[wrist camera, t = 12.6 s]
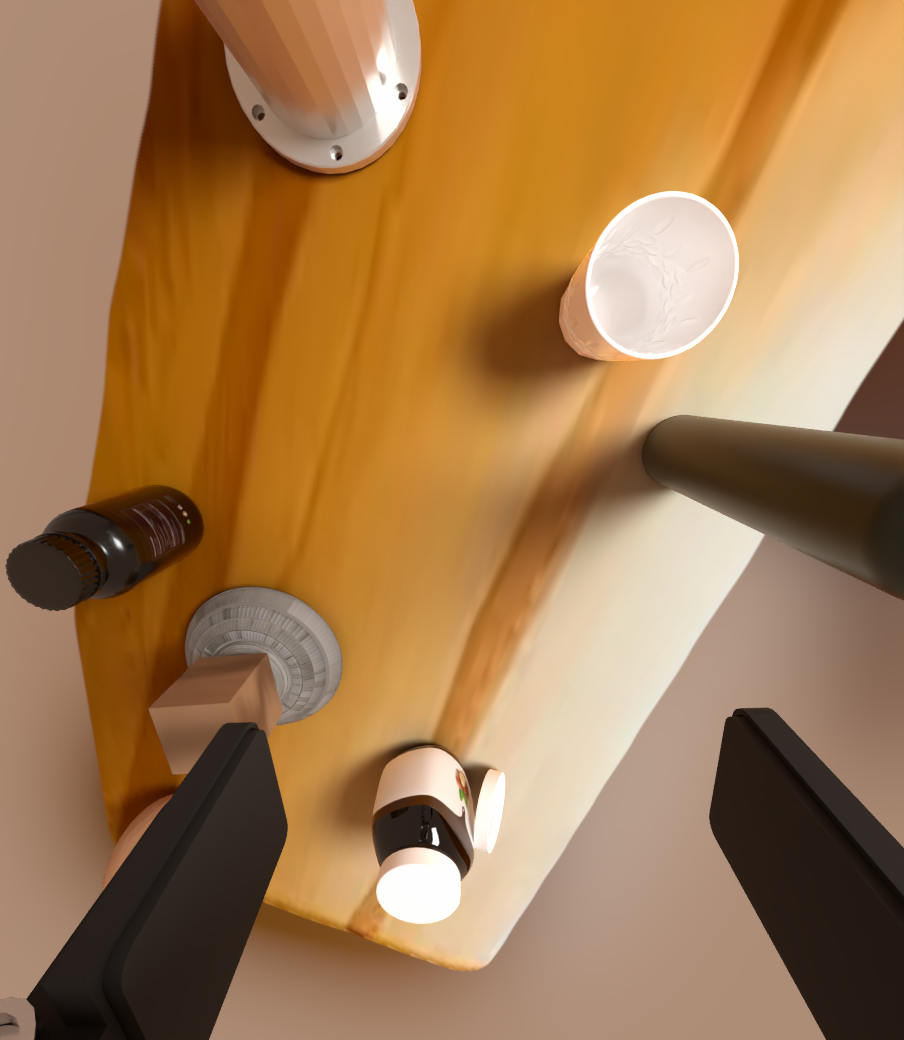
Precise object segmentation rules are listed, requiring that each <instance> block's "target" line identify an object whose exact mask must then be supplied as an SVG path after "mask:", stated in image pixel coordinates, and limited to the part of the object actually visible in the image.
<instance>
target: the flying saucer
mask: <svg viewBox="0 0 904 1040" xmlns="http://www.w3.org/2000/svg"><path fill="white" fill-rule="evenodd" d="M258 653H267V654H268V657H269V661H270V665H271V669H272V672H273V676H274V680H275V683H276V687H277V691H278V695H279V698H280V702H281V706H282V710H283V713H282V715H281V716H280V718H279V720H278V722H277V723H276V725H283V724H289V723H293V722H296V721H299V720H302V719H305V718H307V717H309V716H311V715H312V714H314V713H316V712H317V711H319V710H320V709H322V708H323V707H324V706H325V705H326V704H327V703H328V702H329V701H330V700H331V698H332V697H333V695H334V694H335V692H336V690H337V688H338V686H339V683H340V680H341V675H342V656H341V651H340V647H339V644H338V642H337V639H336V637H335V635H334V633H333V632H332V630H331V628H330V627H329V626H328V624H327V623H326V622H325V620H324V619H323V618H322V617H321V616H320V615H319V614H318V613H317V612H316V611H315V610H313V609H312V608H311V607H310V606H308V605H307V604H305V603H304V602H302V601H301V600H299V599H297V598H295V597H293V596H291V595H289V594H286V593H283V592H280V591H277V590H273V589H268V588H261V587H243V588H236V589H232V590H228V591H225V592H223V593H220V594H218V595H216V596H214V597H213V598H211V599H209V600H208V601H207V602H205V603H204V604H203V605H202V606H201V607H200V608H199V609H198V611H197V612H196V613H195V615H194V616H193V618H192V620H191V622H190V624H189V627H188V630H187V634H186V640H185V656H186V662H187V666H188V668H189V667H190V666H191V665H192V664H193V663H194V662H195V661H196V660H197V659H198V658H206V657H219V656H232V655H245V654H258Z"/></svg>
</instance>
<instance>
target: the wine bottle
mask: <svg viewBox="0 0 904 1040" xmlns="http://www.w3.org/2000/svg"><path fill="white" fill-rule="evenodd" d="M642 457H643V464H644V467H645V469H646V471H647V473H648V474H649V476H650V477H651V478H652V479H653V480H655V481H656V482H658V483H660V484H662V485H664V486H666V487H668V488H670V489H672V490H674V491H676V492H678V493H680V494H683V495H685V496H687V497H689V498H691V499H693V500H695V501H697V502H699V503H701V504H703V505H705V506H707V507H709V508H711V509H714V510H716V511H718V512H720V513H722V514H724V515H726V516H728V517H730V518H732V519H734V520H736V521H738V522H740V523H743V524H745V525H747V526H749V527H751V528H753V529H755V530H757V531H759V532H761V533H763V534H765V535H767V536H769V537H771V538H774V539H776V540H778V541H780V542H782V543H784V544H786V545H788V546H790V547H792V548H794V549H796V550H798V551H800V552H802V553H805V554H807V555H809V556H811V557H813V558H815V559H817V560H819V561H821V562H823V563H825V564H827V565H829V566H831V567H834V568H836V569H838V570H840V571H842V572H844V573H846V574H848V575H850V576H852V577H854V578H856V579H858V580H860V581H863V582H865V583H867V584H869V585H871V586H873V587H875V588H877V589H879V590H881V591H884V592H885V593H888V594H890V595H892V596H894V597H896V598H899V599H902V600H904V440H901V439H893V438H884V437H875V436H866V435H857V434H848V433H840V432H831V431H822V430H813V429H804V428H796V427H787V426H778V425H769V424H760V423H751V422H743V421H734V420H725V419H716V418H707V417H698V416H690V415H679V416H674V417H671V418H669V419H666V420H665V421H663V422H661V423H660V424H659V425H657V426H656V427H655V428H654V429H653V430H652V431H651V433H650V434H649V436H648V437H647V439H646V441H645V444H644V447H643V455H642Z"/></svg>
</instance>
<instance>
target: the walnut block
mask: <svg viewBox="0 0 904 1040" xmlns="http://www.w3.org/2000/svg"><path fill="white" fill-rule="evenodd" d="M148 710H149V712H150V715H151V718H152V720H153V723H154V726H155V728H156V731H157V734H158V736H159V739H160V742H161V744H162V747H163V749H164V752H165V755H166V757H167V760H168V763H169V765H170V768H171V771H172V773H173V774H188V773H189V772H190V770H191V769H192V767H193V766H194V764H195V763H196V762H197V760H198V759H199V757H200V756H201V754H202V753H203V752H204V750H205V749H206V747H207V746H208V745H209V743H210V742H211V740H212V739H213V737H214V736H215V735H216V733H217V732H218V730H219V729H220V728H221V727H222V726H223V725H224V724H226V723H240V722H255V723H256V724H257V725H258V728H259V730H264V731H265V733H266V736H267V739H268V737H269V736H270V734H271V732H272V730H273V729H274V727H275V725H276V723H277V722H278V720H279V718H280V716H281V715H282V713H283V710H282V706H281V702H280V698H279V695H278V691H277V687H276V683H275V680H274V676H273V672H272V669H271V665H270V661H269V657H268V654H267V653H258V654H245V655H232V656H219V657H206V658H198V659H197V660H196V661H195V662H194V663H193V664H192V665H191V666H190V667H189V668H188V669H187V670H186V671H185V672H184V673H183V674H182V675H181V676H180V677H179V678H178V679H177V680H176V681H175V682H174V683H173V684H172V685H171V686H170V687H169V688H168V689H167V690H166V691H165V692H164V693H163V694H162V695H161V696H160V697H159V698H158V699H157V700H156V701H155V702H154V703H153V704H152V705H151V706H150V707H149V708H148Z"/></svg>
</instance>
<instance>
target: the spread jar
mask: <svg viewBox="0 0 904 1040" xmlns="http://www.w3.org/2000/svg"><path fill="white" fill-rule="evenodd" d="M504 794H505V775H504V773H503V772H500V771H496V770H493V769H489V770H488V772H487V774H486V776H485V778H484V781H483V784H482V787H481V791H480V795H479V799H478V804H477V810H476V816H475V823H474V810H473V801H472V794H471V789H470V786H469V782H468V779H467V776H466V773H465V770H464V768H463V766H462V764H461V762H460V761H459V759H458V758H457V757H456V756H455V755H454V754H453V753H452V752H450V751H449V750H447V749H445V748H443V747H440V746H436V745H423V746H418V747H414V748H411V749H409V750H406V751H404V752H403V753H401V754H399V755H398V756H396V757H395V758H393V759H392V760H391V761H390V762H389V763H388V764H387V765H386V766H385V768H384V770H383V772H382V775H381V778H380V782H379V786H378V790H377V795H376V799H375V804H374V809H373V816H372V837H373V844H374V849H375V853H376V857H377V860H378V863H379V866H380V871H379V876H378V882H377V887H376V896H377V899H378V902H379V903H380V905H381V906H382V908H383V909H384V910H385V911H386V912H387V913H389V914H390V915H392V916H393V917H395V918H397V919H399V920H402V921H405V922H409V923H416V924H426V923H433V922H437V921H440V920H442V919H445V918H446V917H448V916H449V915H451V914H452V913H453V912H454V911H455V909H456V908H457V906H458V905H459V901H460V882H461V881H462V880H463V879H464V878H465V877H466V875H467V874H468V873H469V871H470V869H471V867H472V864H473V859H474V846H475V849H478V850H481V851H484V852H486V853H489V854H490V853H491V852H492V850H493V847H494V845H495V842H496V838H497V835H498V831H499V826H500V821H501V816H502V810H503V803H504Z"/></svg>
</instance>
